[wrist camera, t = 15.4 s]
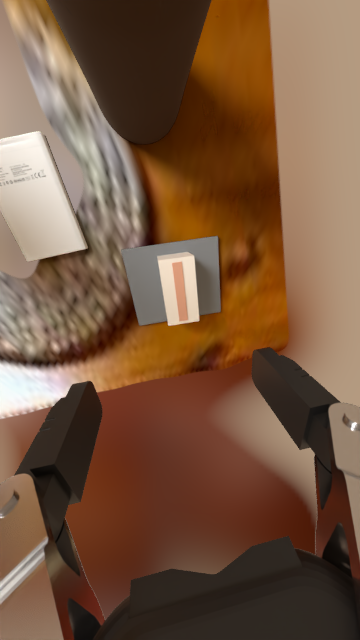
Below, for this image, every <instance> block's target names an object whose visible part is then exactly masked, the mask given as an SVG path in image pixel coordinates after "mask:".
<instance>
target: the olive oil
mask: <svg viewBox="0 0 360 640" xmlns="http://www.w3.org/2000/svg"><path fill="white" fill-rule="evenodd" d="M46 1H47V3H48V5H49V7H50V8H51V10H52V12H53V14H54V16H55V18H56V20H57V22H58V24H59V26H60V28H61V30H62V32H63V34H64V36H65V38H66V40H67V42H68V44H69V46H70V48H71V50H72V52H73V54H74V56H75V58H76V60H77V62H78V64H79V66H80V68H81V70H82V72H83V74H84V76H85V78H86V80H87V82H88V84H89V86H90V88H91V90H92V92H93V94H94V96H95V99H96V101H97V103H98V105H99V107H100V109H101V111H102V113H103V115H104V117H105V118H106V120H107V121H108V123H109V124H110V125H111V127H112V128H113V129H114V130H115V131H116V132H117V133H118V134H119V135H121V136H122V137H123V138H125V139H127V140H129V141H131V142H133V143H137V144H150V143H154V142H156V141H158V140H160V139H161V138H163V137H164V136H165V135H166V134H167V133H168V132H169V130H170V129H171V128H172V126H173V124H174V122H175V120H176V118H177V115H178V112H179V108H180V104H181V101H182V97H183V93H184V89H185V86H186V82H187V79H188V75H189V72H190V69H191V65H192V62H193V59H194V55H195V52H196V48H197V45H198V42H199V38H200V35H201V32H202V29H203V25H204V22H205V19H206V16H207V12H208V9H209V6H210V3H211V0H46Z"/></svg>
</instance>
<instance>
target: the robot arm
mask: <svg viewBox="0 0 360 640" xmlns="http://www.w3.org/2000/svg"><path fill="white" fill-rule="evenodd" d="M252 379H253V382H254V384H255V386H256V388H257V389H258V390H259V392H260V393H261V395H262V396H263V397H264V399H265V400H266V402H267V403H268V405H269V406H270V407H271V409H272V411H273V412H274V413H275V415H276V416H277V418H278V419H279V421H280V422H281V423H282V425H283V426H284V428H285V429H286V431H287V432H288V433H289V435H290V436H291V438H292V439H293V441H294V442H295V444H296V445H297V446H298V448H299V449H300V450H302V449H305V448H311V449H312V450H313V452H314V453H315V456H314V465H315V482H316V497H317V498H316V499H317V525H316V536H315V546H316V547H315V548H316V555H314V554H312V553H310V552H307V551H303V550H300V549H295V548H294V547H293V545H292V543H291V541H290V538H289V536H287V537H283V538H280V539H276V540H272V541H269V542H265V543H262V544H258V545H255V546H252V547H250V548H249V549H248V550H247V551H245V552H244V553H243V554H242V555H240V556H239V557H238V558H237V559H235V560H234V561H233V562H232V563H230V564H229V565H228V566H227V567H225V568H224V569H223V570H222V571H220V572H219V573H217V574H205V573H197V572H191V571H183V570H176V569H169V570H166V571H162V572H159V573H155V574H151V575H148V576H144V577H141V578H137V579H134V580H131V589H130V596H128V597H127V598H126V599H124V601H122V602H121V603H120V604H119V605H118V606H117V607H116V608H115V609H114V611H113V612H112V613H111V614H110V615H109V617H108V618H107V619H106V620H105V618H104V615H103V612H102V610H101V607H100V605H99V602H98V600H97V598H96V595H95V594H94V591H93V590H92V588H91V586H90V584H89V582H88V580H87V578H86V576H85V573H84V570H83V567H82V564H81V561H80V559H79V556H78V553H77V550H76V547H75V544H74V541H73V538H72V535H71V533H70V530H69V527H68V524H67V521H66V519H65V515H66V511H67V508H68V505H70V504H74V503H78V502H81V498H82V494H83V490H84V486H85V482H86V478H87V474H88V470H89V466H90V462H91V458H92V454H93V450H94V446H95V442H96V438H97V434H98V430H99V426H100V423H101V419H102V405H101V402H100V400H99V397H98V395H97V392H96V390H95V388H94V385H93V383H92V382H91V381H87V382H82V383H77V384H73V385H72V386H71V387H70V389H69V391H68V393H67V395H66V397H64V398H61V399H60V400H59V401H58V402H57V403H56V404H55V405H54V406H53V407H52V408H51V410H50V412H49V413H48V415H47V417H46V419H45V422H44V423H43V424H42V427H41V428H40V432H38V434H37V435H36V437H35V439H34V441H33V442H32V444H31V446H30V448H29V450H28V452H27V453H26V455H25V457H24V459H23V461H22V462H21V464H20V466H19V468H18V470H17V471H16V473H15V475H14V476H13V477H11V478H9V479H7V480H5V481H4V482H2V483H1V484H0V640H360V407H358V406H356V405H353V404H348V403H341V402H340V401H338V400H337V399H336V398H335V397H334V396H333V395H332V394H330V393H329V392H328V391H327V390H326V389H325V388H324V387H323V386H321V385H320V384H319V383H318V382H317V381H316V380H315V379H314V378H313V377H311V376H309V374H308V373H307V372H306V371H305V370H302V368H301V367H300V366H299V365H298V364H297V363H295V362H294V361H293V360H291V359H289V358H287V357H285V356H282V355H281V356H279V355H278V354H277V353H276V352H275V351H274V350H273V349H272V348H270V347H267V348H262V349H257V350H254V351H253V359H252Z"/></svg>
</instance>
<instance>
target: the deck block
mask: <svg viewBox="0 0 360 640" xmlns="http://www.w3.org/2000/svg"><path fill="white" fill-rule="evenodd" d="M157 258H158V265H159V271H160V277H161V284H162V290H163V296H164V303H165V309H166V315H167V321H168V326H171V325H177V324H183V323H189V322H196V321H199V309H198V297H197V284H196V272H195V259H194V255H192V254H190V253H189V252H183V253H176V254H168V255H161V256H157Z"/></svg>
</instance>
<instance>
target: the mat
mask: <svg viewBox="0 0 360 640" xmlns="http://www.w3.org/2000/svg"><path fill="white" fill-rule="evenodd" d="M121 252H122V256H123V260H124V265H125V269H126V273H127V277H128V281H129V285H130V289H131V293H132V297H133V301H134V306H135V310H136V314H137V318H138V322H139V326H141V325H146V324H152V323H158V322H164V321H167V315H166V309H165V303H164V296H163V290H162V284H161V277H160V271H159V265H158V258H157V256H161V255H168V254H176V253H183V252H189V253H190V254H192V255H194V259H195V272H196V284H197V297H198V309H199V315H205V314H211V313H217V312H221V305H220V279H219V254H218V236H213V237H206V238H199V239H192V240H185V241H178V242H172V243H165V244H158V245H151V246H144V247H137V248H130V249H123V250H121Z"/></svg>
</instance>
